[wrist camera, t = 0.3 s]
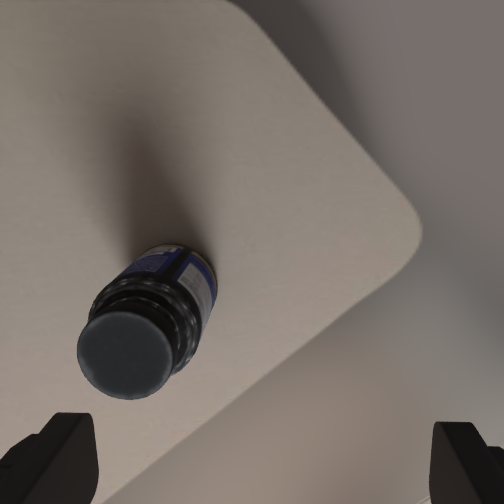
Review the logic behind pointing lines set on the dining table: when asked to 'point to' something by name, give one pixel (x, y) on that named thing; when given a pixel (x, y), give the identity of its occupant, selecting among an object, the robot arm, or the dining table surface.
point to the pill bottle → (147, 322)
